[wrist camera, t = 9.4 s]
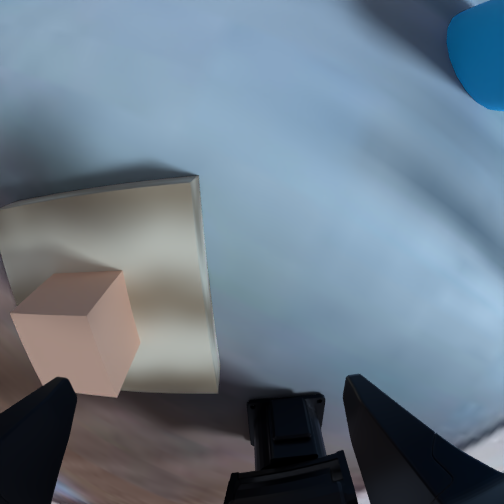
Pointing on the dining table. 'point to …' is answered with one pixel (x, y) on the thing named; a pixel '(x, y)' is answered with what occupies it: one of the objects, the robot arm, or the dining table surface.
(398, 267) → the dining table surface
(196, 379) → the plinth
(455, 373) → the dining table surface
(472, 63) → the mug
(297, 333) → the dining table surface
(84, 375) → the cube
